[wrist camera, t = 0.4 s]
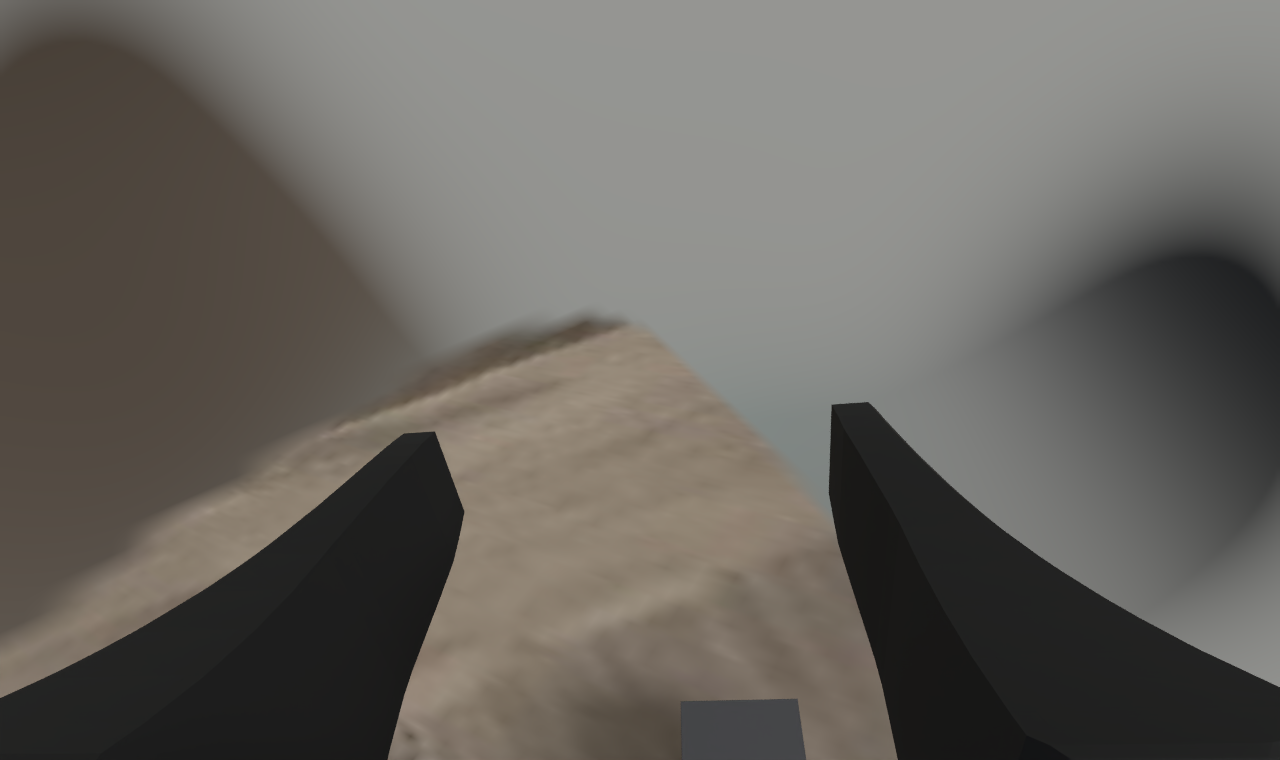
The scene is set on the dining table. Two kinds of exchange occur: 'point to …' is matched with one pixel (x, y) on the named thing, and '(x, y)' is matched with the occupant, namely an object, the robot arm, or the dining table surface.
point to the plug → (742, 730)
